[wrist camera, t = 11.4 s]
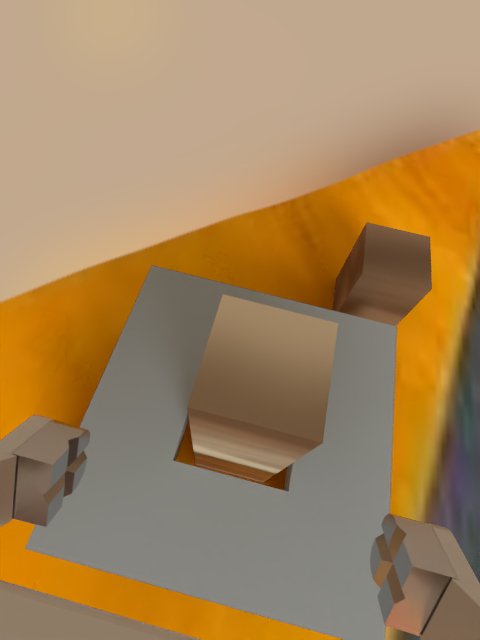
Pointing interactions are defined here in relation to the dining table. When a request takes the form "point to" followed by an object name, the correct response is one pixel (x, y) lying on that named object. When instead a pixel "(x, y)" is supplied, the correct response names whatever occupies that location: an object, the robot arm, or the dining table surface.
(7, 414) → the dining table surface
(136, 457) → the collar stand
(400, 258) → the walnut peg
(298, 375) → the maple peg
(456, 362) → the dining table surface
